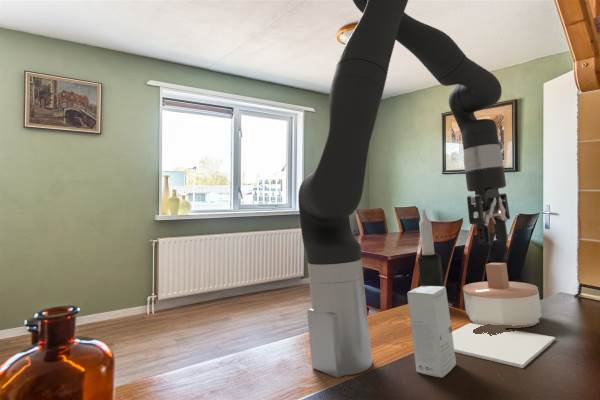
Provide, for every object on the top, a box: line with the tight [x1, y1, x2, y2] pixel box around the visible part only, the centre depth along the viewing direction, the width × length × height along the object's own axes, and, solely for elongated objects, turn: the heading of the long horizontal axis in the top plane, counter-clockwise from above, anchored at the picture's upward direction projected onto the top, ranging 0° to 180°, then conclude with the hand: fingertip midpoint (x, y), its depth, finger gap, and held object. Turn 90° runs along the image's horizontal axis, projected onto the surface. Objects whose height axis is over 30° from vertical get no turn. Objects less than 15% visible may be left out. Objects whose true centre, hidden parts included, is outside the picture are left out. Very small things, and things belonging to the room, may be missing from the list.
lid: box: [462, 262, 539, 298], centre depth 75 cm, size 14×14×6 cm
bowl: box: [462, 290, 543, 326], centre depth 75 cm, size 13×13×6 cm
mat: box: [452, 322, 556, 369], centre depth 62 cm, size 15×15×1 cm
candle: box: [417, 208, 445, 287], centre depth 90 cm, size 5×5×25 cm
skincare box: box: [406, 286, 457, 378], centre depth 55 cm, size 6×4×12 cm
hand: (493, 242), depth 76 cm, fingers open, 8 cm apart
